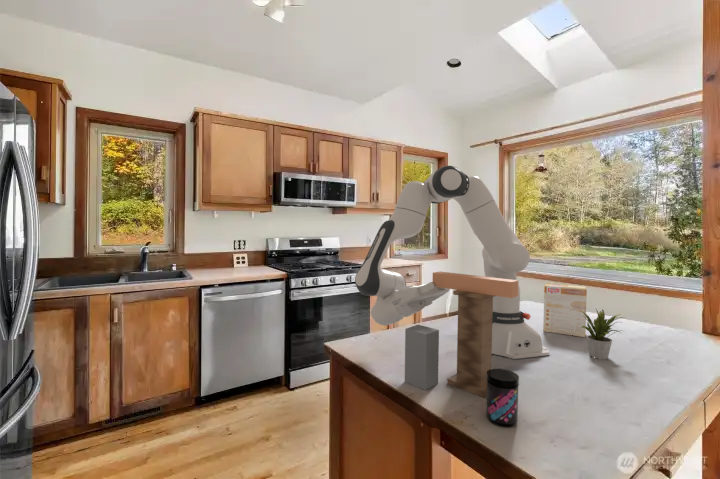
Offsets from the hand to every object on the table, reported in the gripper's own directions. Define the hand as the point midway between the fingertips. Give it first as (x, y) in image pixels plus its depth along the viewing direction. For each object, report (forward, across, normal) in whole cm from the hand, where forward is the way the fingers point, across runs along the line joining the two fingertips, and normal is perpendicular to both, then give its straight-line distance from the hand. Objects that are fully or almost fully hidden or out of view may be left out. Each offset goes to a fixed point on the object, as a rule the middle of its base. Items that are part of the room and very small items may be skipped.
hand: (443, 282), depth 103 cm
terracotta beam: (+7, 0, +6) cm, 9 cm away
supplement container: (+6, -12, +35) cm, 38 cm away
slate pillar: (-14, -9, +23) cm, 29 cm away
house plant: (+12, +50, +39) cm, 65 cm away
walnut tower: (-5, 0, +29) cm, 29 cm away
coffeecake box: (-3, +73, +30) cm, 79 cm away
